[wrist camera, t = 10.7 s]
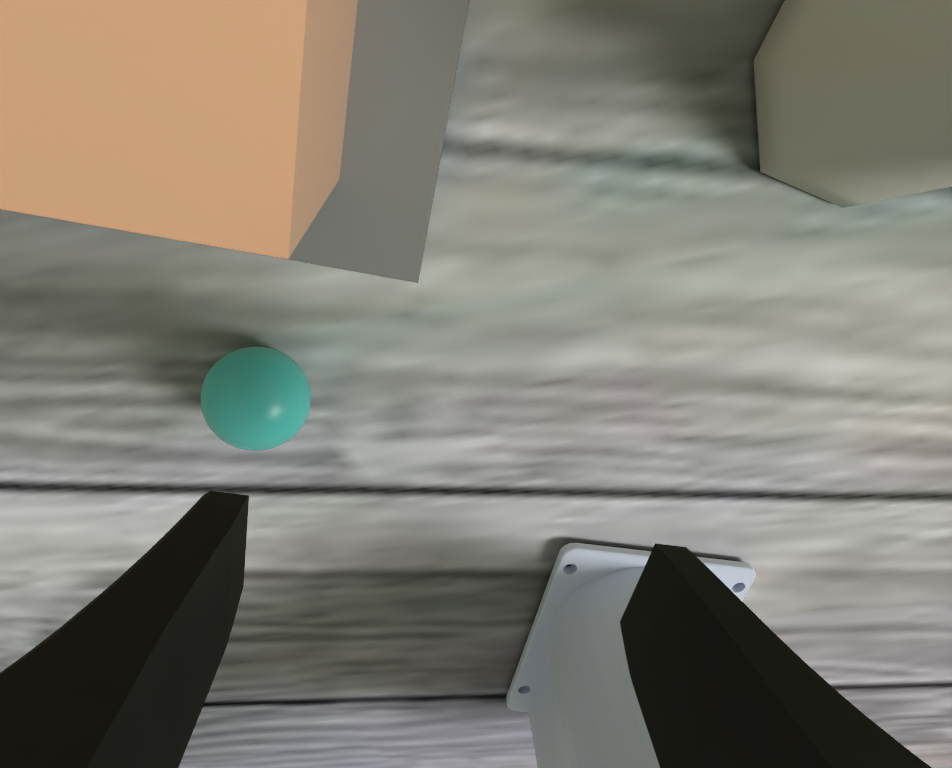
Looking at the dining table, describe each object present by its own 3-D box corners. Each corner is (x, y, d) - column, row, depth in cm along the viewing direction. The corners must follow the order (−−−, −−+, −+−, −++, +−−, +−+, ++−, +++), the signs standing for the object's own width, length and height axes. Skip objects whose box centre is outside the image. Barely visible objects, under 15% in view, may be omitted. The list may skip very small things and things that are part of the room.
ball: (313, 422, 20) (296, 478, 18) (216, 408, 20) (185, 464, 17) (322, 339, 19) (306, 385, 16) (219, 322, 18) (185, 368, 16)
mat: (418, 276, 18) (417, 282, 18) (45, 207, 17) (32, 213, 16) (495, -154, 14) (498, -163, 13) (-7, -308, 12) (-26, -324, 12)
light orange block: (339, 179, 16) (288, 259, 10) (133, 138, 15) (-59, 199, 9) (362, -48, 14) (315, -125, 8) (124, -110, 13) (-140, -251, 7)
